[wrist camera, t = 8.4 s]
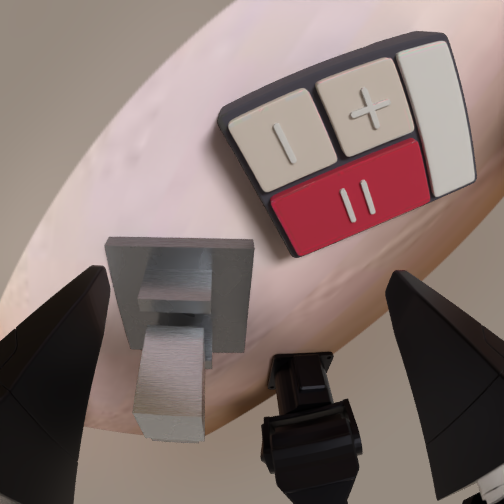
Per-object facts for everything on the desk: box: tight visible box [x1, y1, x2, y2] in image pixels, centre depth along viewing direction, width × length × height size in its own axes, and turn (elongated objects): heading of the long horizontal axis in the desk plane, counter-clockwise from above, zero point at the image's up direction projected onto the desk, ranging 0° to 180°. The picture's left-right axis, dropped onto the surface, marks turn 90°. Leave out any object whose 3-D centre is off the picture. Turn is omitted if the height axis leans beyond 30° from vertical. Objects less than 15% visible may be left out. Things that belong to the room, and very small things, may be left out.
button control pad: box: [217, 31, 477, 258], centre depth 19 cm, size 11×4×15 cm
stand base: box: [105, 237, 254, 369], centre depth 25 cm, size 12×11×5 cm
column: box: [133, 325, 205, 443], centre depth 20 cm, size 4×4×7 cm
